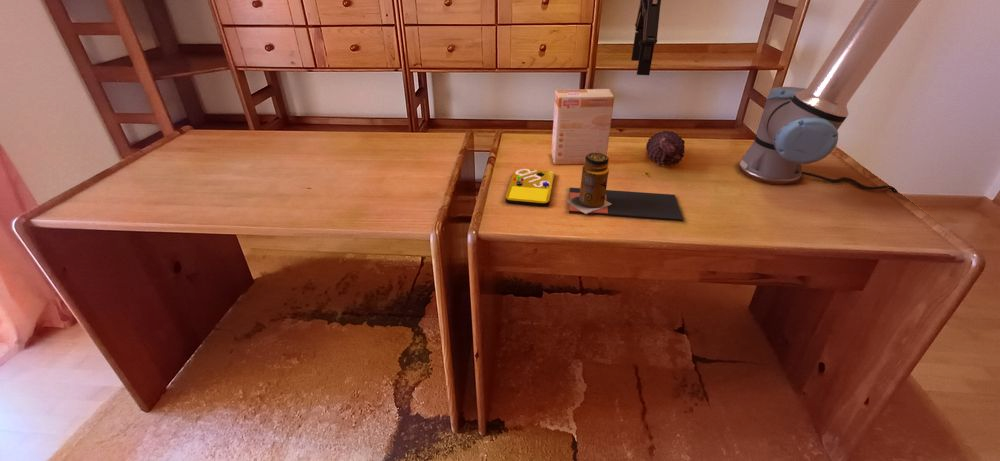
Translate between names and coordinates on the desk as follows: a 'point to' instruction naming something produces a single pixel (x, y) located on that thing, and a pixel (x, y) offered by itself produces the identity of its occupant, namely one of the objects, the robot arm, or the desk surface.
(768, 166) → the robot arm
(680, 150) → the pine cone
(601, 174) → the condiment
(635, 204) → the desk mat
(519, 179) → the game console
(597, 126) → the coffeecake box
